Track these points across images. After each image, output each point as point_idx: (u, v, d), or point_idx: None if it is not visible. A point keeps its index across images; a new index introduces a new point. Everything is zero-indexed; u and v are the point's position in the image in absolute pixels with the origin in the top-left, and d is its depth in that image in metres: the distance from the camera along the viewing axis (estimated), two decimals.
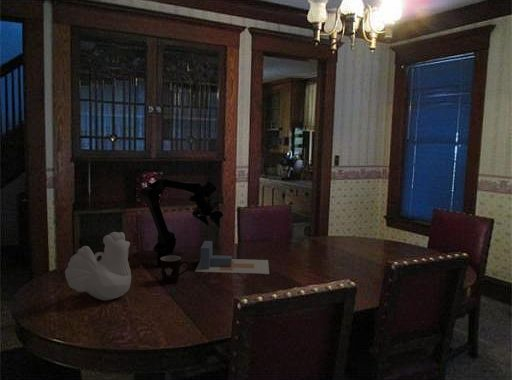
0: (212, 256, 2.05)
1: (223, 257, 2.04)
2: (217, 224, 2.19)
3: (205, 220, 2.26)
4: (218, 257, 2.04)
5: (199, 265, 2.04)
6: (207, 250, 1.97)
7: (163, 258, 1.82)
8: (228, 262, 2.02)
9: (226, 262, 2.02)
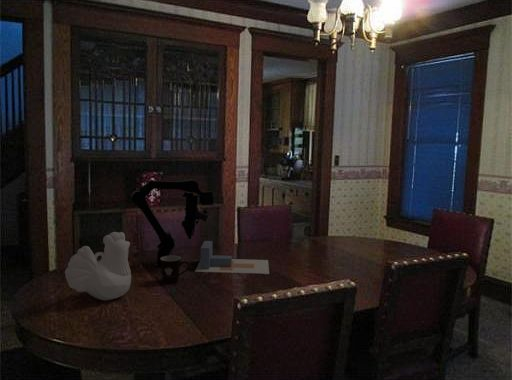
0: (212, 256, 2.05)
1: (223, 257, 2.04)
2: (187, 232, 2.01)
3: None
4: (218, 257, 2.04)
5: (199, 265, 2.04)
6: (207, 250, 1.97)
7: (163, 258, 1.82)
8: (228, 262, 2.02)
9: (226, 262, 2.02)
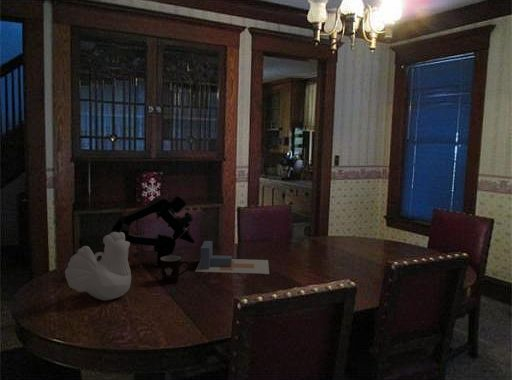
0: (212, 256, 2.05)
1: (223, 257, 2.04)
2: (187, 239, 2.02)
3: None
4: (218, 257, 2.04)
5: (199, 265, 2.04)
6: (207, 250, 1.97)
7: (163, 258, 1.82)
8: (228, 262, 2.02)
9: (226, 262, 2.02)
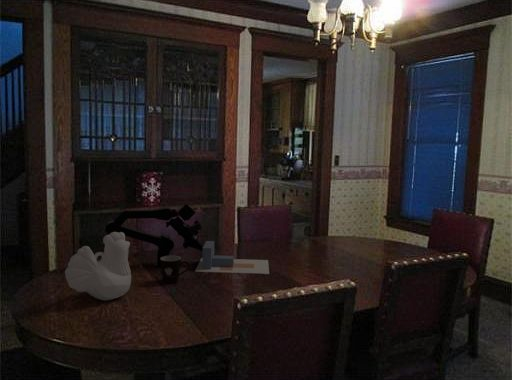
0: (214, 256, 2.05)
1: (225, 257, 2.04)
2: (197, 247, 2.03)
3: None
4: (220, 257, 2.04)
5: (199, 265, 2.04)
6: (209, 250, 1.97)
7: (163, 258, 1.82)
8: (230, 262, 2.02)
9: (228, 262, 2.02)
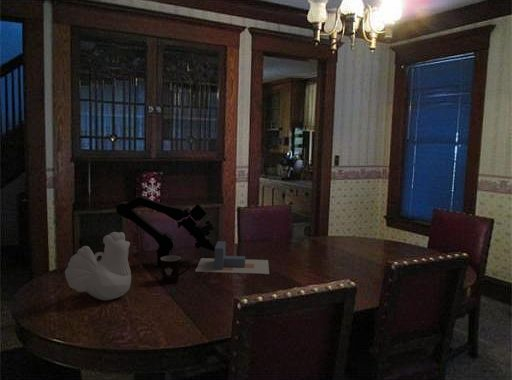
0: (226, 256, 2.05)
1: (237, 257, 2.04)
2: (209, 247, 2.03)
3: None
4: (232, 257, 2.04)
5: (199, 265, 2.04)
6: (221, 250, 1.97)
7: (163, 258, 1.82)
8: (242, 262, 2.02)
9: (239, 263, 2.02)
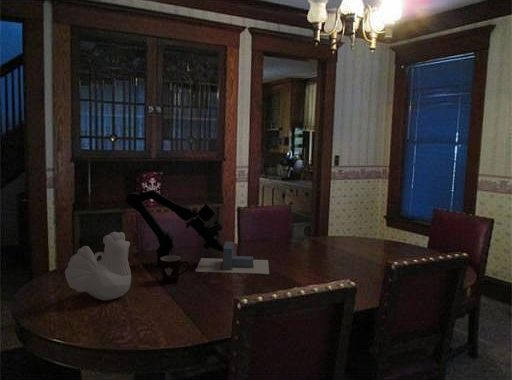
0: (234, 257, 2.05)
1: (245, 258, 2.04)
2: (217, 248, 2.03)
3: None
4: (240, 258, 2.04)
5: (199, 265, 2.04)
6: (230, 251, 1.97)
7: (163, 258, 1.82)
8: (250, 262, 2.02)
9: (248, 263, 2.02)
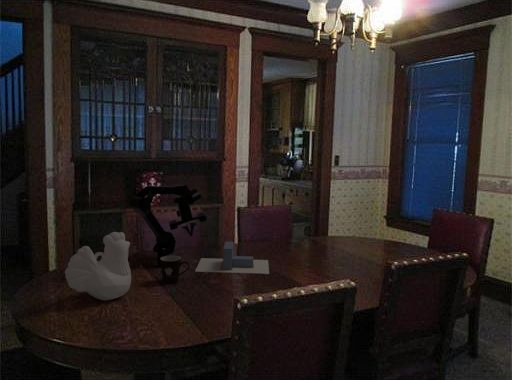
0: (234, 257, 2.05)
1: (245, 258, 2.04)
2: None
3: (189, 230, 2.16)
4: (240, 258, 2.04)
5: (199, 265, 2.04)
6: (230, 251, 1.97)
7: (163, 258, 1.82)
8: (250, 262, 2.02)
9: (248, 263, 2.02)
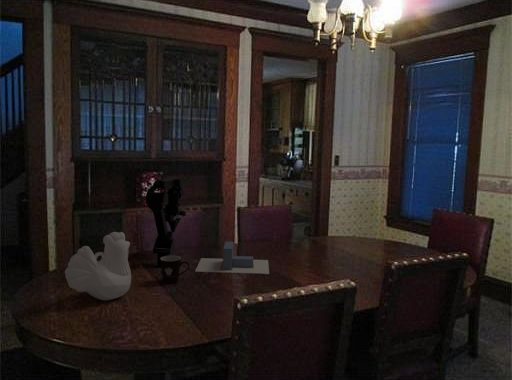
0: (234, 257, 2.05)
1: (245, 258, 2.04)
2: None
3: None
4: (240, 258, 2.04)
5: (199, 265, 2.04)
6: (230, 251, 1.97)
7: (163, 258, 1.82)
8: (250, 262, 2.02)
9: (248, 263, 2.02)
